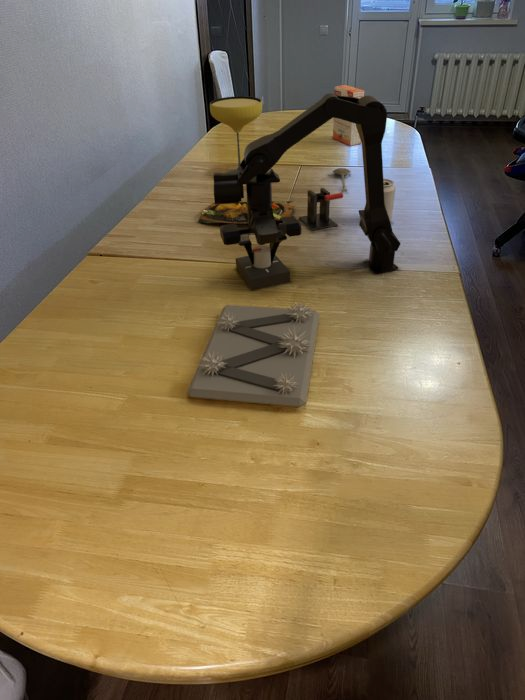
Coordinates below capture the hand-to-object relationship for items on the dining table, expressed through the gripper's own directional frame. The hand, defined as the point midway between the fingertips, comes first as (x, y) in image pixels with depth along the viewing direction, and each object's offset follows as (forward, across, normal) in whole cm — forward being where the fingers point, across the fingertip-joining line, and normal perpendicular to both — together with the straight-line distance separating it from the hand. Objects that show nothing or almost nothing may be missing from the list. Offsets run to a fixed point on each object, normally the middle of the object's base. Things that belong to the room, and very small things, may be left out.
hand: (261, 262), depth 128 cm
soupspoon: (+4, +43, +57) cm, 72 cm away
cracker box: (+4, +62, +105) cm, 122 cm away
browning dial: (0, 0, 0) cm, 0 cm away
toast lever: (-5, +24, +21) cm, 32 cm away
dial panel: (+4, 0, 0) cm, 4 cm away
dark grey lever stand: (+4, +23, +26) cm, 35 cm away
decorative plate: (+4, -8, -32) cm, 33 cm away
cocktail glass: (+4, +10, +78) cm, 78 cm away
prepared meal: (+4, +5, +38) cm, 38 cm away
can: (+4, +41, +22) cm, 46 cm away
